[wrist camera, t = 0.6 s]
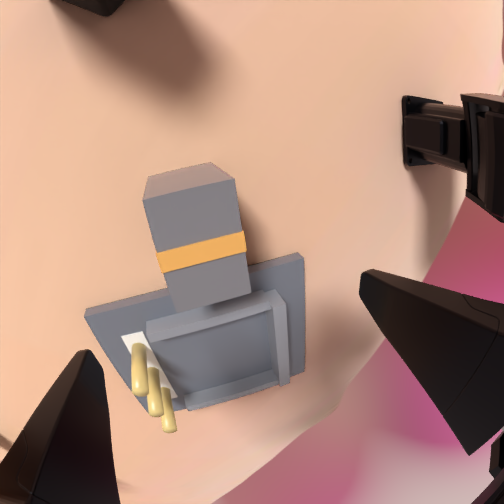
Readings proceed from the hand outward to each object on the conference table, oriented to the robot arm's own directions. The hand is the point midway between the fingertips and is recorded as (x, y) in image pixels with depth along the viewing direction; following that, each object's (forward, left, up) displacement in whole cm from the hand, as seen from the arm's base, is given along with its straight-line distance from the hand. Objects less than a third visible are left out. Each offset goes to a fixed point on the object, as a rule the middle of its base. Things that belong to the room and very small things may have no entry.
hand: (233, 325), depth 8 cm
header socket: (+1, +12, -11) cm, 17 cm away
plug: (0, 0, -11) cm, 11 cm away
